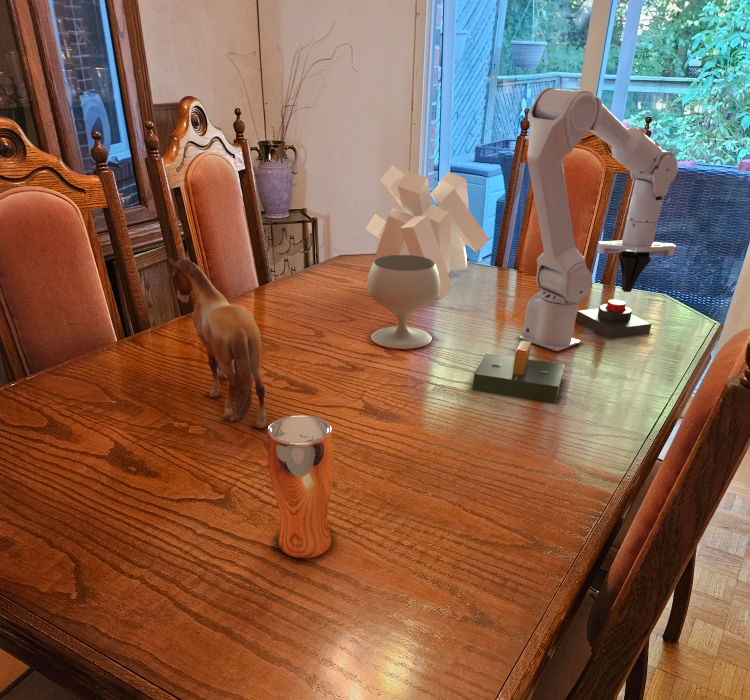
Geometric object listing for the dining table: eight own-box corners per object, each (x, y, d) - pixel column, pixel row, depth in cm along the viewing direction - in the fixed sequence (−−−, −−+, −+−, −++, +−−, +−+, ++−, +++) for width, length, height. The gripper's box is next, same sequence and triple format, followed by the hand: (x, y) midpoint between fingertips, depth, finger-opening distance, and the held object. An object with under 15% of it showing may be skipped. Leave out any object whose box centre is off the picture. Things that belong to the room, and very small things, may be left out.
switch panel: (472, 390, 114) (474, 373, 112) (484, 368, 122) (486, 352, 120) (555, 403, 110) (558, 385, 108) (561, 380, 118) (564, 363, 116)
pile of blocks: (391, 279, 187) (338, 161, 163) (495, 242, 178) (454, 110, 153) (389, 357, 165) (327, 233, 140) (508, 318, 155) (463, 178, 131)
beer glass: (276, 526, 80) (267, 414, 72) (334, 524, 81) (332, 413, 72) (274, 562, 75) (264, 445, 66) (336, 560, 75) (334, 444, 67)
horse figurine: (185, 375, 117) (166, 254, 105) (228, 368, 120) (214, 249, 108) (234, 456, 94) (217, 313, 82) (286, 445, 97) (277, 305, 85)
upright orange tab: (517, 362, 117) (521, 339, 114) (527, 363, 116) (531, 340, 114) (512, 374, 112) (515, 350, 110) (523, 375, 112) (526, 351, 110)
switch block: (575, 320, 145) (578, 302, 143) (613, 316, 148) (617, 298, 146) (609, 339, 136) (614, 320, 134) (649, 334, 139) (654, 315, 137)
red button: (602, 308, 141) (604, 300, 140) (616, 307, 142) (618, 298, 141) (613, 313, 138) (615, 305, 137) (627, 312, 139) (629, 303, 138)
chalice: (355, 345, 130) (355, 267, 122) (381, 323, 141) (383, 250, 133) (423, 356, 126) (428, 276, 118) (444, 333, 137) (450, 258, 128)
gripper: (609, 222, 125) (594, 295, 133) (687, 225, 124) (668, 297, 132) (600, 215, 131) (587, 284, 138) (675, 217, 130) (657, 287, 138)
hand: (626, 290), depth 136 cm, fingers closed
